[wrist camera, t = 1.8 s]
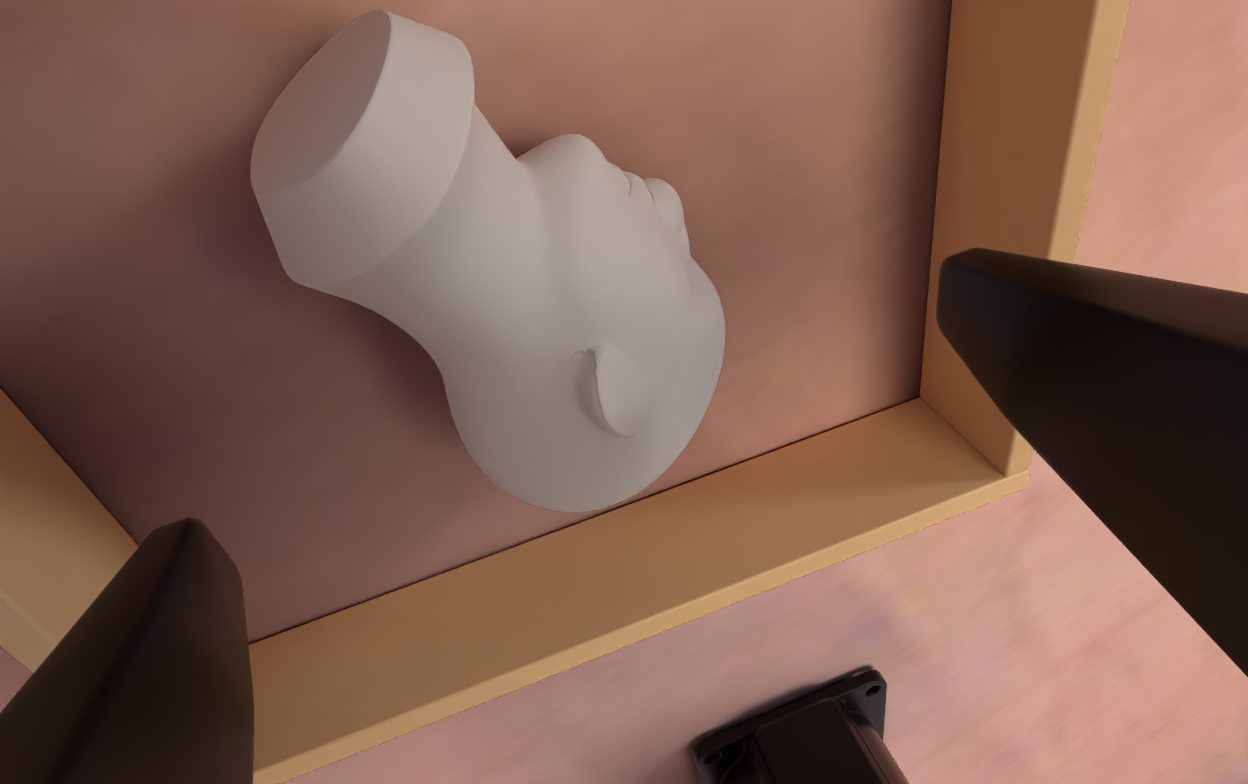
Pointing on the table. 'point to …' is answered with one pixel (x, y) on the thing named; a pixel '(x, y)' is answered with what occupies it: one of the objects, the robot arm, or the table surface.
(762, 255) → the table surface
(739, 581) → the wooden frame
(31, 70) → the table surface
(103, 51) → the table surface
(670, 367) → the pale two-lobed sculpture
